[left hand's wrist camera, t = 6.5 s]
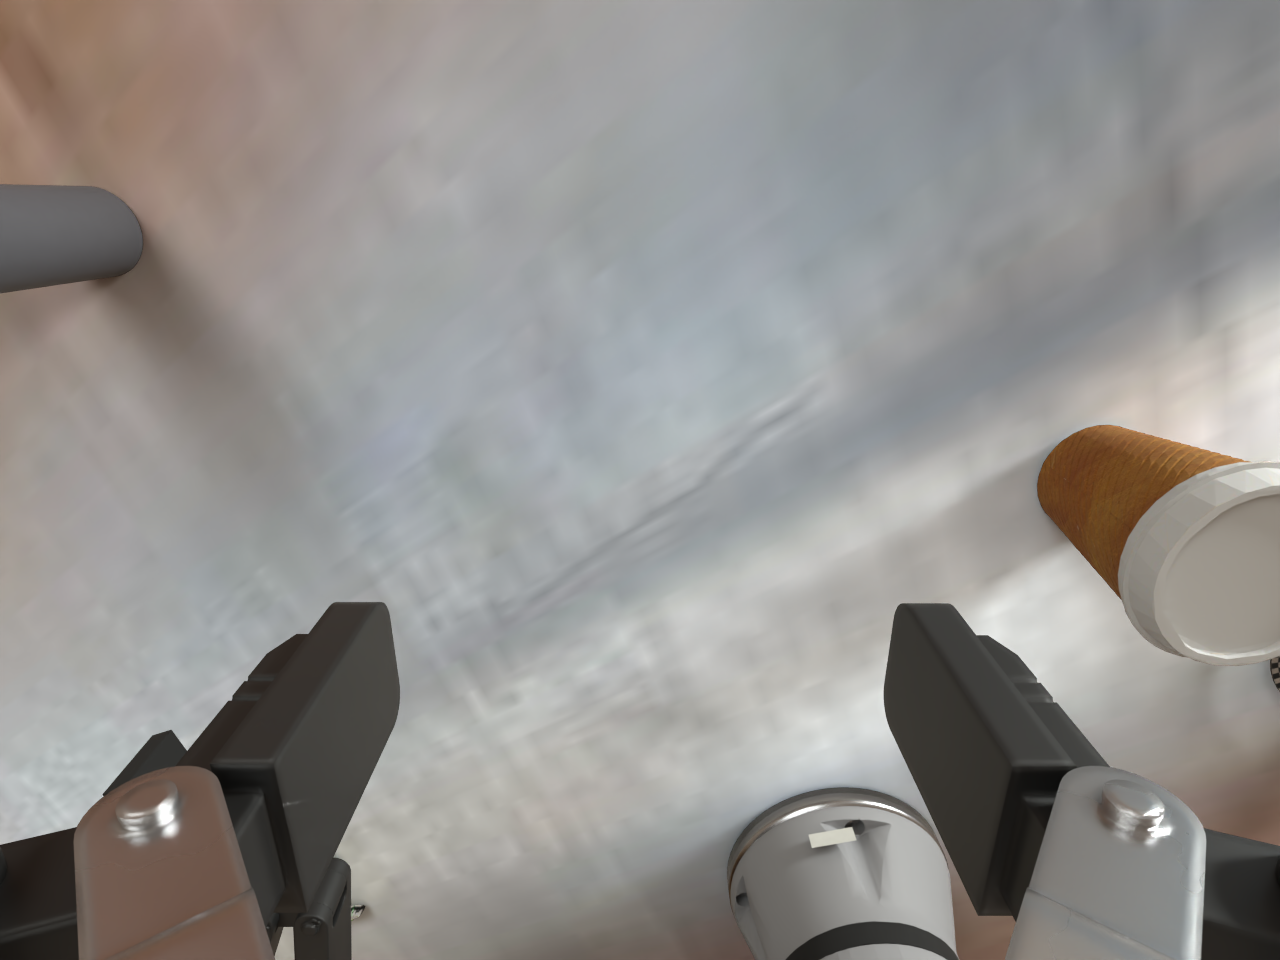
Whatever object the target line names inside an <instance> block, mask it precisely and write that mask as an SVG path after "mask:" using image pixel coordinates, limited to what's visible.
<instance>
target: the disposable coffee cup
mask: <svg viewBox="0 0 1280 960" xmlns="http://www.w3.org/2000/svg"><path fill="white" fill-rule="evenodd" d="M1037 491H1038V498H1039V501H1040V503H1041V506H1042V508H1043V509H1044V511H1045V513H1046V514H1047V515H1048V516H1049V517H1050V518H1051V519H1052V520H1053V521H1054V522H1055V524H1056V525H1057V526H1058V527H1059V528H1060V529H1061V531H1062V532H1063V533H1064V534H1065V535H1066V536H1067V537H1068V539H1069V540H1070V541H1071V542H1072V543H1073V544H1074V546H1075V547H1076V548H1077V549H1078V550H1079V551H1080V553H1081V554H1082V555H1083V556H1084V557H1085V558H1086V560H1087V561H1088V562H1089V563H1090V564H1091V565H1092V567H1093V568H1094V569H1095V570H1096V571H1097V572H1098V574H1099V575H1100V576H1101V577H1102V578H1103V579H1104V580H1105V581H1106V582H1107V584H1108V585H1109V586H1110V587H1111V589H1112V590H1113V591H1114V592H1115V593H1116V594H1117V596H1118V597H1119V598H1120V599H1121V600H1122V603H1123V604H1124V608H1125V612H1126V614H1127V616H1128V617H1129V619H1130V621H1131V623H1132V624H1133V626H1134V627H1135V628H1136V629H1137V630H1138V632H1139V633H1140V634H1141V635H1142V636H1143V637H1144V638H1145V639H1146V640H1147V641H1149V642H1150V643H1152V644H1153V645H1154V646H1156V647H1158V648H1160V649H1162V650H1164V651H1166V652H1169V653H1172V654H1175V655H1178V656H1182V657H1189V658H1191V659H1193V660H1196V661H1199V662H1203V663H1207V664H1211V665H1218V666H1240V665H1247V664H1254V663H1259V662H1262V661H1266V660H1269V659H1272V658H1275V657H1278V656H1280V462H1271V461H1261V462H1249V461H1244V460H1242V459H1238V458H1232V457H1231V456H1226V455H1221V454H1219V453H1215V452H1210V451H1209V450H1204V449H1200V448H1197V447H1191V446H1190V445H1185V444H1181V443H1178V442H1173V441H1170V440H1167V439H1163V438H1159V437H1154V436H1152V435H1147V434H1145V433H1140V432H1137V431H1133V430H1129V429H1126V428H1122V427H1120V426H1113V425H1097V426H1093V427H1089V428H1085V429H1083V430H1081V431H1078V432H1076V433H1074V434H1072V435H1071V436H1069V437H1068V438H1066V439H1064V440H1063V441H1062V442H1061V443H1059V444H1058V445H1057V446H1056V447H1055V448H1054V449H1053V451H1052V452H1051V453H1050V454H1049V455H1048V457H1047V458H1046V460H1045V462H1044V463H1043V466H1042V468H1041V471H1040V474H1039V477H1038V483H1037Z"/></svg>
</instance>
